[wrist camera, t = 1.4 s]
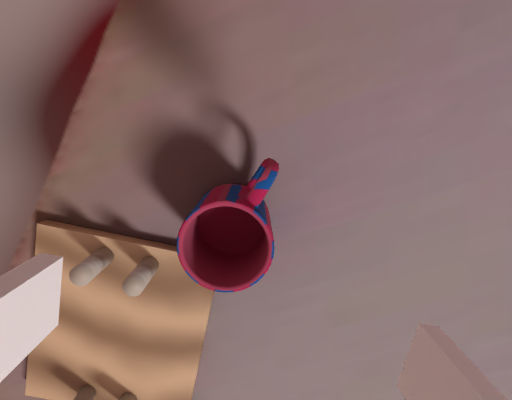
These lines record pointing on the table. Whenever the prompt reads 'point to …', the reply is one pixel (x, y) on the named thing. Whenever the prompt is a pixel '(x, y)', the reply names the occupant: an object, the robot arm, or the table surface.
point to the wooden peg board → (118, 320)
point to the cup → (230, 234)
